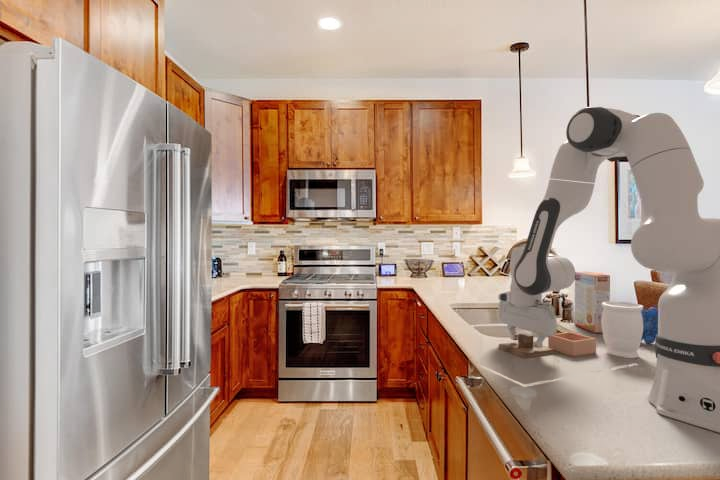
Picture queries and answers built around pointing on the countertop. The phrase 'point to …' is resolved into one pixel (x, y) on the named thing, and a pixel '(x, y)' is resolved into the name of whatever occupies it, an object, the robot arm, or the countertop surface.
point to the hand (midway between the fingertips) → (525, 343)
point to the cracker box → (590, 299)
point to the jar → (622, 328)
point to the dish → (572, 344)
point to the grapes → (650, 324)
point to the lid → (525, 347)
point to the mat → (526, 358)
